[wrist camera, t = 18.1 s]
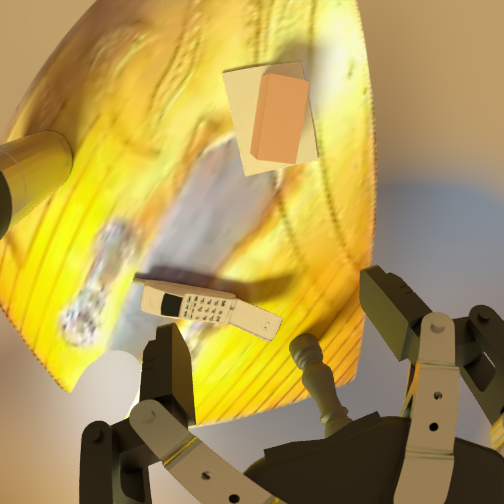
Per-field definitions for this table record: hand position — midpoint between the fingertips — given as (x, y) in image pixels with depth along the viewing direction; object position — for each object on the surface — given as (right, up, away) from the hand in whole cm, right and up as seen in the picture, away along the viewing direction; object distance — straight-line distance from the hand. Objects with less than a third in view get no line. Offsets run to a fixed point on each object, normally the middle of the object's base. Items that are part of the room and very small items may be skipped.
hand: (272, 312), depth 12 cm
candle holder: (+10, -17, +49) cm, 53 cm away
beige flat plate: (+2, +21, +26) cm, 34 cm away
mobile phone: (-9, -6, +39) cm, 41 cm away
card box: (+2, +21, +26) cm, 33 cm away
